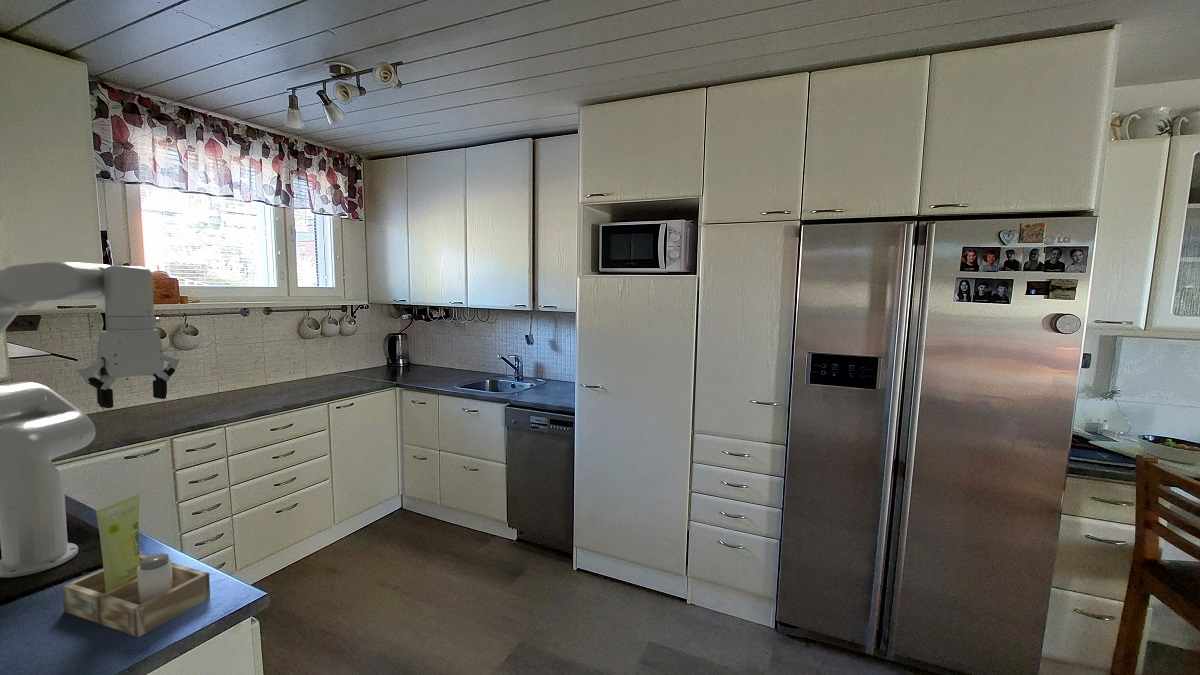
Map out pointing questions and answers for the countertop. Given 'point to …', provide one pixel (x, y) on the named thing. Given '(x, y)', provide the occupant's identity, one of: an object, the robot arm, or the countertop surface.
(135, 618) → the box
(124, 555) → the tube
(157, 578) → the jar
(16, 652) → the countertop surface
